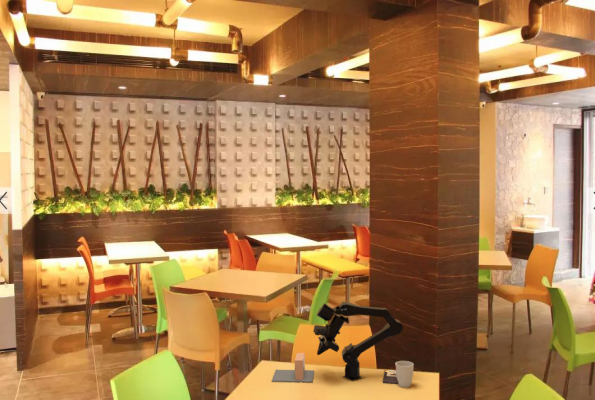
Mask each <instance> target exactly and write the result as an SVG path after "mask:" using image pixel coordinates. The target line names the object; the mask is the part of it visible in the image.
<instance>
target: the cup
mask: <svg viewBox="0 0 595 400" xmlns="http://www.w3.org/2000/svg"><path fill="white" fill-rule="evenodd" d="M395 370H396V376H397V381H398V384H397V385H398V387H400V388H410V387H411V385H412V381H413V376H414V362H412V361H408V360H399V361H396V362H395Z"/></svg>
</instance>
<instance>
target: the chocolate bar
mask: <svg viewBox="0 0 595 400" xmlns="http://www.w3.org/2000/svg"><path fill="white" fill-rule="evenodd" d="M388 370H389V372H385V371H384V372H383V373H384V374H383V378H382V384H386V385H399V384H398V381H397V376H396V369H395V370H394V369H393V370H392V369H388ZM388 373H390V374H388ZM391 373H393V374H391Z"/></svg>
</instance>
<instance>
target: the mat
mask: <svg viewBox="0 0 595 400" xmlns="http://www.w3.org/2000/svg"><path fill="white" fill-rule="evenodd" d="M313 376H315V369H314V370H313V369H305V373H304V377H303V380H295V369H275V370H274V373H273V375H272V379H271V383H300V382H302V383H306V384H309V383H310V384H311V383H312V384H313V381H314V377H313Z"/></svg>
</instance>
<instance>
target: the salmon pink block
mask: <svg viewBox="0 0 595 400" xmlns="http://www.w3.org/2000/svg"><path fill="white" fill-rule="evenodd" d="M305 353H306V352H297V353H296V356H295V359H294V370H295V380H303V377H304V373H305V370H306V368H305V367H306V366H305V365H306V364H305V363H306V361H305V360H306V359H305V357H306V354H305Z"/></svg>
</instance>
